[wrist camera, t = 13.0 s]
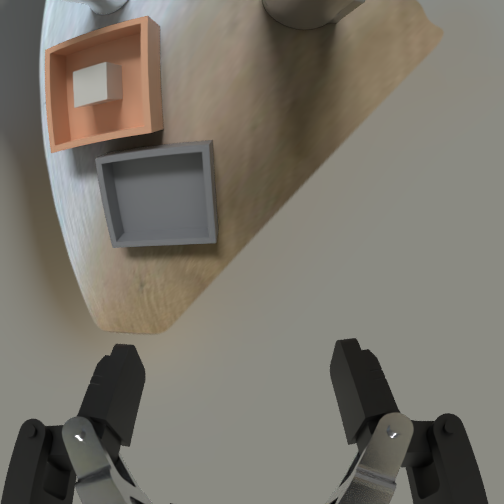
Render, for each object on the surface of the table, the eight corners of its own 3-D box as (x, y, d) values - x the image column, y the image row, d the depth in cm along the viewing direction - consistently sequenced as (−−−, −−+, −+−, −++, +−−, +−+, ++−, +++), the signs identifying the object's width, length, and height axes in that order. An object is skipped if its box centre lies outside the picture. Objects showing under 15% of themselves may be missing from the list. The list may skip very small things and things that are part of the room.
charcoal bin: (212, 140, 33) (208, 144, 29) (218, 229, 39) (216, 243, 35) (108, 152, 33) (94, 158, 29) (122, 234, 38) (112, 247, 35)
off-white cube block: (121, 65, 26) (106, 61, 22) (122, 99, 29) (107, 99, 25) (90, 73, 26) (72, 71, 22) (92, 106, 28) (74, 107, 25)
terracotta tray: (159, 26, 25) (147, 15, 21) (163, 129, 32) (151, 132, 27) (65, 53, 25) (45, 50, 20) (71, 145, 32) (51, 153, 27)
